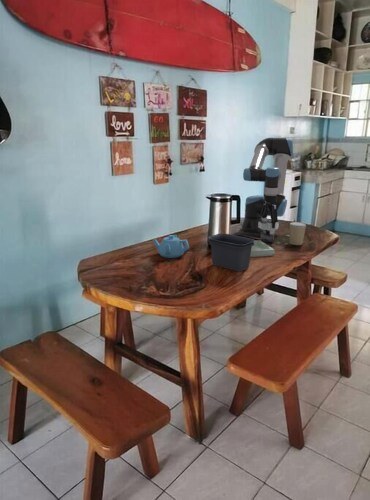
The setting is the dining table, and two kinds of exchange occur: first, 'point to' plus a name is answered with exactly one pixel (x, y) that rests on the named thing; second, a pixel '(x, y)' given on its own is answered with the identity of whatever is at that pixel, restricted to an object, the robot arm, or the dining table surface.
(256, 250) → the tray
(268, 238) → the stake stand
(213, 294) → the dining table surface
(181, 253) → the teapot
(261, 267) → the dining table surface
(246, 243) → the storage bin
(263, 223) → the ring
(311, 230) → the dining table surface
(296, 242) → the coffee cup
